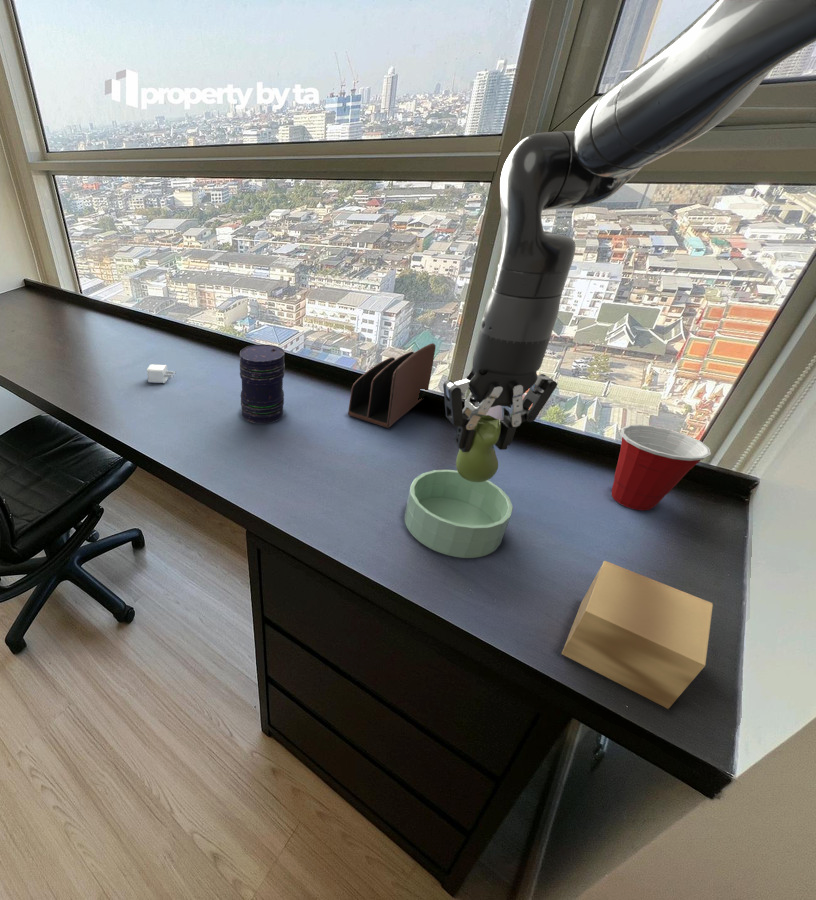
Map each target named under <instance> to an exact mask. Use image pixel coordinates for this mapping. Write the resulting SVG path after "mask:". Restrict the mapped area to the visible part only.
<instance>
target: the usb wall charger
mask: <svg viewBox="0 0 816 900" xmlns="http://www.w3.org/2000/svg"><path fill="white" fill-rule="evenodd" d="M176 372H177V371H173V370H168V365H167V364H149V366H148V367H147V369H146V375H147V382H148V383H153V384H166V382H167V380H168V378H174V375H176Z"/></svg>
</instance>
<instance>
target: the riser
mask: <svg viewBox="0 0 816 900" xmlns="http://www.w3.org/2000/svg"><path fill="white" fill-rule="evenodd" d="M713 607H714V603H713V602H710V601H708V600H706V599H703V598H700V597H697V596H696V595H694V594H691V593H689V592H688V593H687V592H685V591H682V590H680V589H677V588H675V587H674V586H673V587H672V586H670V585H668V584H665V583H663V582H660V581H657V580H656V579H655V580H654V579H653V578H650V577H648V576H645V575H642V574H640V573H637V572H636V571H633V570H630V569H627V568H624V567H622V566H619V565H617V564H615V563H612V562H609V561H607V560H603V562H602V564H601V566H600V568H599V570H598V571H597V573H596V575H595V577H594V578H593V580H592V582H591V584H590V586H589V588H588V589H587V591H586V593H585V595H584V597H583V599H582V600H581V603H580V605H579V607H578V610H577V613H576V616H575V618H574V620H573V623H572V625H571V628H570V631H569V633H568V636H567V639H566V641H565V644H564V646H563V649H562V651H561V655H563V656H564V657H566V658H568V659H570V660H572V661H574V662H576V663H578V664H580V665H582V666H584V667H586V668H587V669H589V670H592V671H593V672H595V673H598V674H599V675H601V676H602V677H605V678H607V679H609V680H611V681H613V682H615V683H617V684H618V685H620V686H622V687H625V688H627V689H629V691H632V692H633V693H636V694H637V695H640V696H642V697H644V698H645V699H648V700H649V701H652V702H654V703H656V704H657V705H660V706H661V707H663V708H665V709H667V710H669V709H670V708H671V707H672V706H673V704H674V703H675V702H676V701H677V700H678V699H679V697H681V696H682V694H683V693H684V691H686V689H687V688H688V687H689V686H690V684H691V683H692V682H693V681H694V680H695V679H696V678H697V676H698V675H699V674H700V673H701V671H702V670H703V669H704V668H705V667H706V666H707V665H706V664H707V656H708V647H709V641H710V640H709V639H710V631H711V623H712V615H713Z"/></svg>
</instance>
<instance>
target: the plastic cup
mask: <svg viewBox="0 0 816 900" xmlns="http://www.w3.org/2000/svg"><path fill="white" fill-rule="evenodd" d="M620 437H621V443H620V451H619V455H618V460H617V464H616V467H615V472H614V478H613V483H612V487H611V497H612V499H613V500H614V501H616V502H617V503H618V504H620V505H621V506H624V507H626V508H628V509H632V510H635V511H650V510H652V509H653V508H654V507H656V506H657V505H659V503H660V502H661V501H662V500H663V498H665V496H666V495H668V494H670V492H671V491H672V490H673V489H674V488H675V487H676V486H677V485H678V483H680V481H681V480H683V478H684V477H685V476H686V475H687V474H688V473H689V472H690V470H692V469H694V467H695V466H696V465H697V464H699V463H700V462H701V461H703V460H705V459H707V458H708V457H709V456H711V455H712V452H711V448H710V447H709V446H708V445H706V444H705V443H704V442H702V441H701V440H699V439H696V438H694V437H693V436H690V435H688V434H686V433H682V432H680V431H676V430H673V429H670V428H666V427H661V426H657V425H650V424H649V425H648V424H640V423H639V424H638V423H637V424H627V425H625V426H622V427H621V429H620Z"/></svg>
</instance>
